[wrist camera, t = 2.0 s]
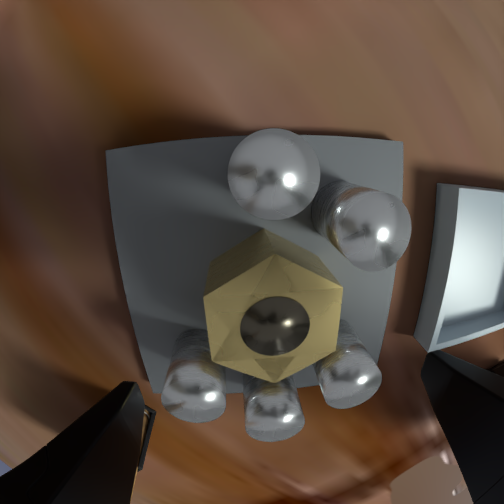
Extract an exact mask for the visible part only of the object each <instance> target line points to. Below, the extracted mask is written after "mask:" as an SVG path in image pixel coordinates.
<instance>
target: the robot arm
mask: <svg viewBox="0 0 504 504" xmlns="http://www.w3.org/2000/svg"><path fill="white" fill-rule="evenodd" d="M421 378H422V381H423V383H424V386H425V389H426V391H427V394H428V396H429V399H430V402H431V405H432V407H433V410H434V412H435V415H436V417H437V419H438V421H439V423H440V425H441V427H442V429H443V432H444V434H445V436H446V438H447V440H448V442H449V445H450V447H451V449H452V451H453V454H454V456H455V458H456V460H457V463H458V465H459V468H460V470H461V472H462V475H463V477H464V480H465V482H466V485H467V487H468V490H469V492H470V495H471V498H472V501H473V502H474V504H504V363H502V364H500V365H498V366H496V367H494V368H491V369H489V370H485V369H483V368H480V367H478V366H476V365H473V364H471V363H469V362H466V361H464V360H462V359H459V358H457V357H455V356H452V355H450V354H448V353H446V352H443V351H441V350H435V351H431V352H429V353H428V354H427V355H426V358H425V361H424V364H423V367H422V370H421ZM144 409H145V404H144V400H143V397H142V394H141V392H140V389H139V386H138V384H137V383H136V382H131V381H123V382H121V383H120V384H119V385H118V386H117V387H115V388H114V389H113V390H112V391H111V392H109V393H108V394H107V395H106V396H105V397H103V398H102V399H101V400H100V401H99V402H97V403H96V404H95V405H94V406H93V407H91V408H90V409H89V410H88V411H87V412H85V413H84V414H83V415H82V416H81V417H79V418H78V419H77V420H76V421H75V422H73V423H72V424H71V425H70V426H68V427H67V428H66V429H65V430H64V431H62V432H61V433H60V434H59V435H57V436H56V437H55V438H54V439H53V440H51V441H50V442H49V443H48V444H47V446H44V447H43V448H41V449H40V450H39V451H38V452H36V453H35V454H34V455H32V456H31V457H30V458H28V459H27V460H26V461H24V462H23V463H21V464H20V465H18V466H17V467H15V468H14V469H12V470H10V471H9V472H7V473H5V474H4V475H2V476H0V504H130V501H131V496H132V490H133V485H134V480H135V474H136V469H137V465H138V460H139V455H140V449H141V439H142V428H143V418H144Z"/></svg>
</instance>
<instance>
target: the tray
mask: <svg viewBox="0 0 504 504" xmlns="http://www.w3.org/2000/svg"><path fill="white" fill-rule="evenodd" d="M501 328H504V190H499V189H491V188H483V187H475V186H466V185H456V184H445V183H437V193H436V208H435V220H434V229H433V238H432V246H431V253H430V260H429V266H428V272H427V278H426V283H425V288H424V293H423V298H422V303H421V307H420V311H419V316H418V320H417V324H416V328H415V332H414V335H413V336H414V338H415V339H416V340H417V341H418V342H419V343H420V344H421V346H422V347H423V348H424V349H425V350H426V351H427V352H428V353H429V352H431V351H435V350H440V349H443V348H446V347H450V346H453V345H456V344H459V343H462V342H465V341H468V340H471V339H474V338H477V337H480V336H483V335H485V334H488V333H491V332H493V331H496V330H499V329H501Z"/></svg>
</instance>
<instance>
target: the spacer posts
mask: <svg viewBox="0 0 504 504" xmlns="http://www.w3.org/2000/svg"><path fill="white" fill-rule="evenodd" d="M319 182H320V166H319V162H318V159H317V156H316V154H315V152H314V150H313V149H312V147H311V146H310V145H309V144H308V143H307V142H306V141H305V140H304V139H303V138H302V137H300V136H299V135H297V134H295V133H293V132H291V131H288V130H285V129H279V128H269V129H263V130H259V131H257V132H254V133H252V134H250V135H249V136H247V137H246V138H245V139H243V140H242V141H241V142H240V143H239V145H238V146H237V147H236V148H235V150H234V152H233V153H232V156H231V158H230V161H229V165H228V183H229V187H230V190H231V192H232V195H233V196H234V198H235V200H236V201H237V202H238V204H239V205H240V206H241V207H242V208H243V209H244V210H246V211H247V212H248V213H250V214H252V215H254V216H256V217H259V218H262V219H267V220H282V219H286V218H289V217H292V216H294V215H296V214H298V213H299V212H301V211H302V210H304V209H305V208H306V207H307V206H308V205H309V204H310V202H311V201H312V200H313V201H312V205H311V219H312V223H313V225H314V227H315V228H316V230H317V231H318V232H319V233H320V234H321V235H322V236H323V237H324V238H325V239H326V240H327V241H328V242H330V243H331V244H332V245H333V246H334V247H335V248H336V249H337V250H338V251H339V252H340V253H341V254H342V255H343V256H344V257H345V258H347V259H348V260H349V261H350V262H351V263H352V264H353V265H354V266H356V267H357V268H359V269H361V270H364V271H369V272H376V271H381V270H384V269H386V268H388V267H390V266H392V265H393V264H394V263H395V262H397V261H398V260H399V259H400V257H401V256H402V255H403V253H404V252H405V250H406V248H407V246H408V243H409V240H410V236H411V219H410V215H409V212H408V210H407V208H406V206H405V205H404V204H403V202H402V201H401V200H400V199H398V198H397V197H395V196H394V195H392V194H389V193H386V192H382V191H379V190H375V189H371V188H368V187H364V186H360V185H356V184H353V183H349V182H344V181H335V182H331V183H329V184H327V185H325V186H323V187H322V188H321V189H320V190H319V191H318V192H317V190H318V187H319ZM316 192H317V194H316ZM315 194H316V195H315ZM314 196H315V197H314ZM313 198H314V199H313ZM312 365H313V368H314V371H315V374H316V376H317V379H318V382H319V385H320V387H321V390H322V393H323V396H324V398H325V401H326V403H327V404H328V405H329V406H331V407H333V408H338V409H346V408H351V407H354V406H357V405H359V404H361V403H363V402H365V401H366V400H368V399H369V398H370V397H372V396H373V395H374V394H375V392H376V391H377V390H378V388H379V387H380V384H381V381H382V374H381V372H380V370H379V368H378V367H377V365H376V364H375V362H374V360H373V359H372V357H371V356H370V354H369V353H368V351H367V349H366V348H365V346H364V345H363V343H362V342H361V340H360V338H359V337H358V335H357V334H356V332H355V331H354V329H353V328H352V326H351V325H350V324H349V323H348V322H347V321H345V320H343V319H340V322H339V330H338V337H337V345H336V351H334V352H333V353H331V354H329V355H327V356H326V357H324V358H322V359H320V360H318V361H317V362H315V363H313V364H312ZM242 380H243V397H244V413H245V428H246V432H247V433H248V434H249V435H250V436H251V437H252V438H254V439H257V440H260V441H267V442H273V441H280V440H284V439H287V438H290V437H292V436H294V435H295V434H297V433H298V432H299V431H300V430H301V429H302V428H303V426H304V423H305V419H304V415H303V411H302V408H301V404H300V400H299V396H298V393H297V389H296V385H295V381H294V378H293V374H292V375H290V376H288V377H286V378H284V379H283V380H281V381H278V382H276V383H273V382H270V381H266V380H263V379H260V378H257V377H254V376H251V375H248V374H245V373H242ZM161 400H162V404H163V406H164V407H165V409H166V410H167V411H168V412H169V413H170V414H172V415H173V416H175V417H177V418H179V419H181V420H184V421H188V422H194V423H203V422H209V421H212V420H214V419H217V418H218V417H220V416H221V415H222V414H223V412H224V411H225V408H226V367H225V366H223V365H220V364H217V363H215V362H212V359H211V352H210V345H209V338H208V331H207V330H206V329H190V330H187V331H185V332H183V333H181V334H180V335H179V336H178V338H177V339H176V341H175V345H174V349H173V352H172V356H171V360H170V364H169V368H168V371H167V375H166V379H165V383H164V387H163V391H162V396H161Z"/></svg>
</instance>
